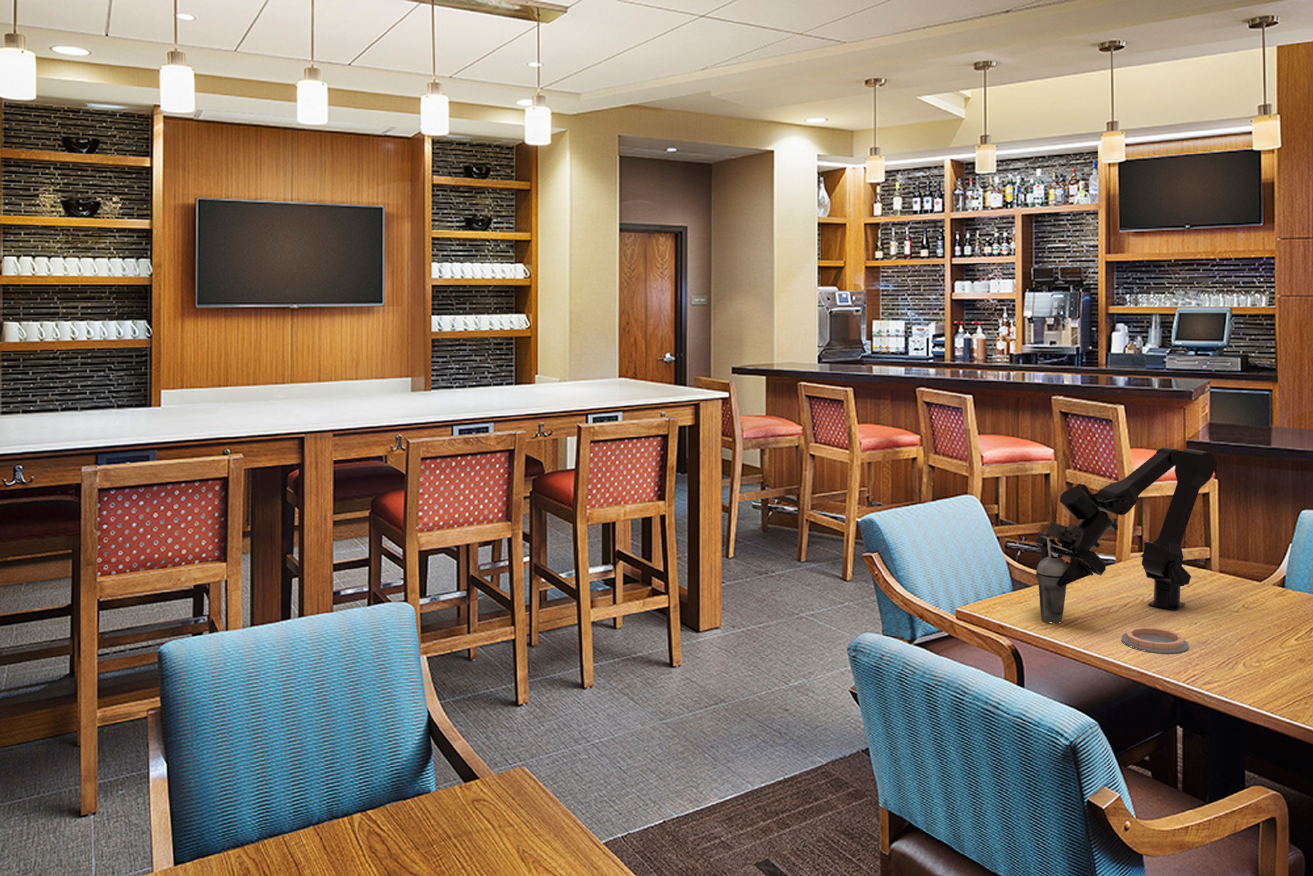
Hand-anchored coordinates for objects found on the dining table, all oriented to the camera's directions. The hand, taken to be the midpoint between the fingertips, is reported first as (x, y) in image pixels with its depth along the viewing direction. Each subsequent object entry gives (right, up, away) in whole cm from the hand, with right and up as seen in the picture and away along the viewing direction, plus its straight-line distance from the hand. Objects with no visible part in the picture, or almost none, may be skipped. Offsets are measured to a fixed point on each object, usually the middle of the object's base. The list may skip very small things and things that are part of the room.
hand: (1047, 581), depth 223 cm
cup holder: (+17, -11, -16) cm, 26 cm away
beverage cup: (+2, -10, +2) cm, 10 cm away
